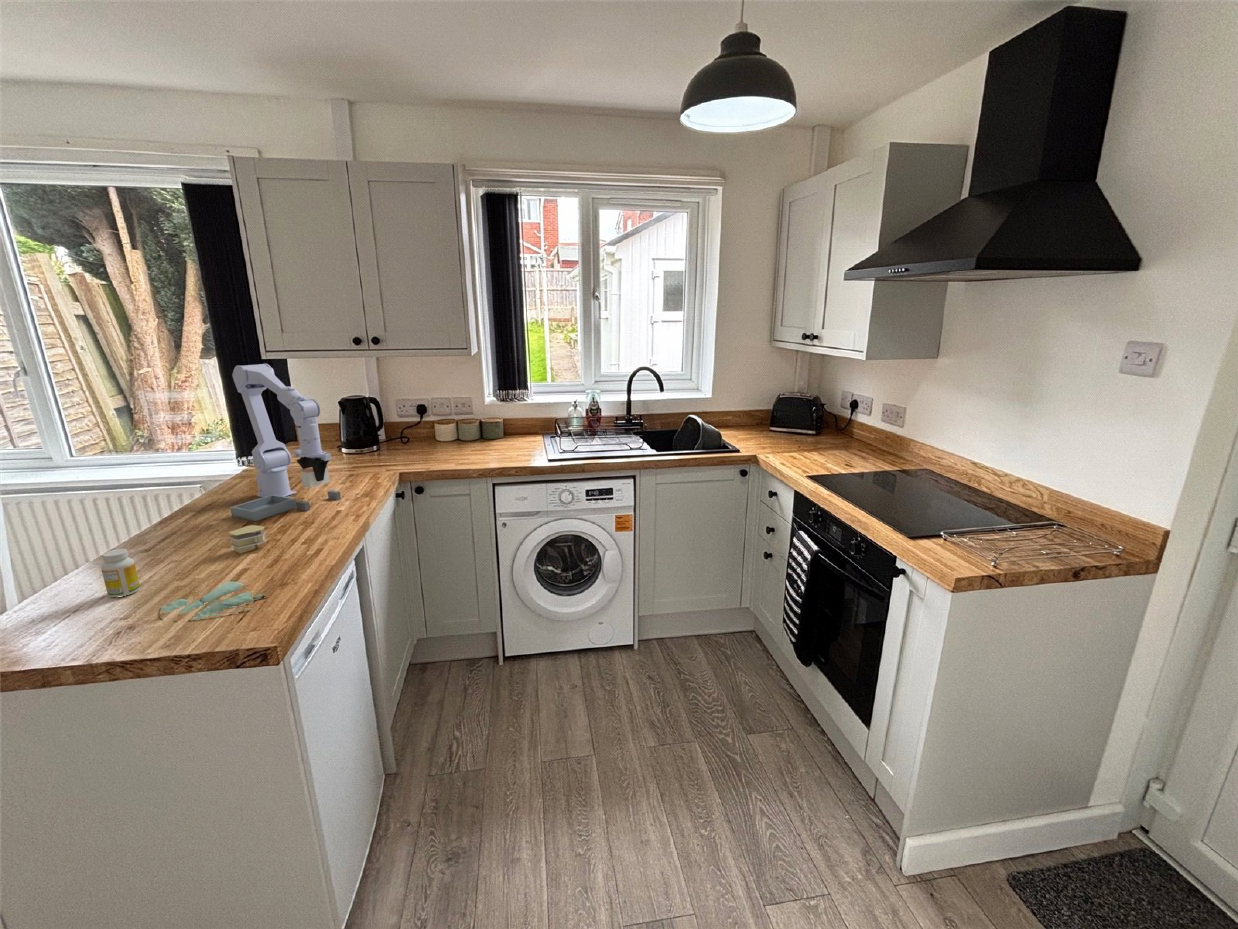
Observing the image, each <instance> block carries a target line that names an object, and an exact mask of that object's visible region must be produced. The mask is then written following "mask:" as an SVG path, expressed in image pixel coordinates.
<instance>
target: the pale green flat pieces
mask: <svg viewBox="0 0 1238 929" xmlns="http://www.w3.org/2000/svg"><path fill="white" fill-rule="evenodd" d="M243 585H244V586H245V584H243V583H241V582H239V581H230V580H228V581H226V582H224V583H222V584H221V585H219V586H218V587H216V588H215V589H213V590H212V591H210V592H208V593H206V594H204V595H203V596H201V598H200V600H199V599H196V600H193V601H194V602H193V603H192V604H190V605H187V603H188V602H189V600H185V599H183V598H180V599H179V598H178V599H175V600H174V601H172V602H170V603H168V604H164V605H163V606H164V607H162V606H161V607H162V608H161V609H163V610H162V611H161V613H168V612H171V611H172V610H173V611H174V610H175V609H179V608H180V607H182V606H187V607H185V608H184V609H182V610H181V611H180V612H179V613H181V614H182V613H187V612H189V611H192V610H193V609H198V608H199V607H200V606H206V605H204V603H206V602H211V601H214V600H215V599H218V600H220V599H221V598H220V597H222V596H224V597H226V596H228V595H231V594H233V593H232V592H234V593H235V592H237V591H239V590H240V588H241V587H242V588H244V587H243ZM242 588H241V589H242ZM238 589H239V590H238ZM236 590H237V591H236ZM230 593H231V594H230ZM227 594H228V595H227ZM251 595H252V594H251V592H250V590H247V591H244V592H242V593H239V594H237V595H235V596H232V597H228V598H226V599H223V600H221V601H219V602H216V601H214V602H211V603H209V604H208V606H207V607H206V608H205V609H204V610H202V611H200V612H198V613H197V614H196V615H193V616H196V617H193V618H191V619H196V618H198V619H201V618H202V617H208V616H218V615H224V614H211V615H209V613H218V612H219V611H224V610H225V609H233V608H236V607H232V606H239V605H241V604H244V603H248V602H254V599H259V598H264V597H267V596H266V595H265V594H262V593H260V594H258V595H256V596H255V597H253V598H252V596H251ZM219 598H220V599H219ZM222 598H223V597H222ZM245 609H252V608H245ZM242 610H243V609H242ZM235 612H240V611H239V610H238V611H234V613H235ZM228 613H233V612H228Z"/></svg>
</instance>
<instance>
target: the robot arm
mask: <svg viewBox="0 0 1238 929" xmlns="http://www.w3.org/2000/svg"><path fill="white" fill-rule="evenodd" d="M231 375H232V376H231V377H232V379H233V383H234V384H235V388H236V390H237V393H240V395H241V397H242V400H243V402H244V405H245V408H246V411H247V414H248V417H249V420H250V423H251V426H252V429H253V433H254V435H255V438H256V440H257V445H256V446H254V448H252V451H251V454H252V464H253V466H254V468H255V469H256V470H257V471H258V473H257V474H256V484H257V489H258V494H257V495H256V496H257V497H258V498H259V497H260V498H263V497H266V496H269V495H279V496H285V497H289V496H292V495H295V494H297V493H298V492H297V491H296V490H291V487H290V486H291V485H290V480H289V475H288V469H289V466H290V465H291V463H292V456H291V453H290V451H289V450H288V449H287V446H286V444H285V443H283V442H281V441H279V440H277V439H276V436H275V434H274V430H273V427H272V424H271V421H270V418H269V415H268V412H267V409H266V406H265V403H264V399H263V396H262V393H263V391H265V390H267V389H268V390H270V391H272V393H274V394H276V395H277V396H276V397H277V401H279V402H280V403H281V404H282V405H284V406H285V407H286V408H287V409H289V413H290V416H291V417H292V419H293V422H294V425H295V426H296V427H297V433H298V434H297V435H298V440H299V447H300V449H294V450H293V451H292V452H293V457H294V458H297V457H298V458H297V459H296V462H297V463H298V465H299V466H300V468H301V470H302V469H306V468H309V467H312V468H313V470H314V474H315V478H316V480H317V481H318V482H319V481H322V480H324V474H325V469H326V466H328V463H329V461H331V460H332V455H331V453H329V452H326V451H324V450H322V444H321V437H320V429H319V424H318V418H319V416H320V414H321V407H320V405H319V403H318V401H317V400H315V399H314V398H311V399H309V398H306V397H305V396H304V395H302V394H301V393H300V392H299V391H297V389H296V388H295V387H293V386H286V385H285V384H284V382H282V381H281V380H280V379H279V378H278V377H277V376H276V375H275V370H274V368H273V367H271V365H269V364H268V363H262V364H261V363H259V364H248V365H247V364H246V365H238V364H237V365H236V366H234V369H233V371H232V374H231ZM269 450H270V451H269Z"/></svg>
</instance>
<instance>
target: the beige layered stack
mask: <svg viewBox="0 0 1238 929" xmlns="http://www.w3.org/2000/svg"><path fill="white" fill-rule="evenodd" d="M264 529H265V526H262V525H247V526H244V527H240V528H237V529H234V530H231V531H229V532H228V533H229V534H231V536H229V539H230V540H231V541H232V543H231V544H230V545H231V546H232V547H233V550H234V552H236V553H238V554H240V555H241V554H244V553H247V552H250V551H252V550H253V551H254V550H256V546H259V545H260V544H263V543H266V541H268V538H266V535H265V534H266V531H265V530H264Z"/></svg>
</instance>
